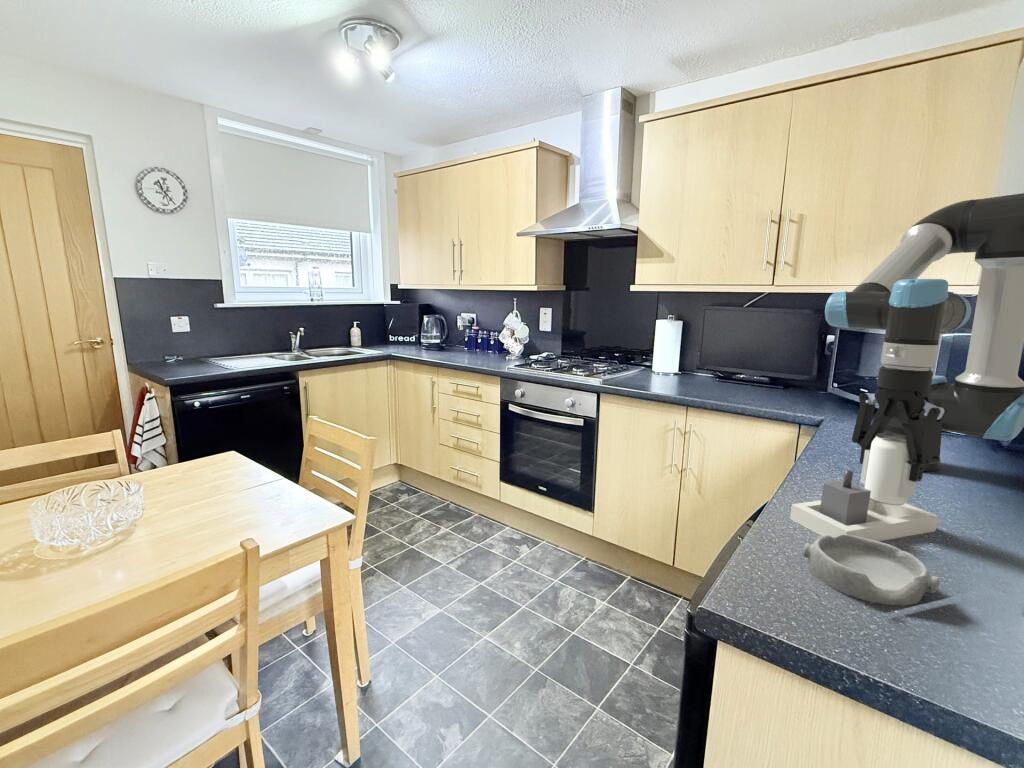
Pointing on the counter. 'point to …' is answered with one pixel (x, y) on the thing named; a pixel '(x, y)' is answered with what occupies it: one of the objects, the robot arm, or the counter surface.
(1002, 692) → the counter surface
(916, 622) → the counter surface
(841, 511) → the seated block
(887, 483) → the can
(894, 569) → the dish
